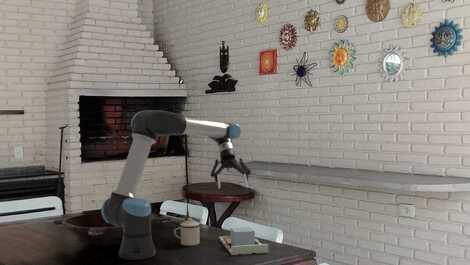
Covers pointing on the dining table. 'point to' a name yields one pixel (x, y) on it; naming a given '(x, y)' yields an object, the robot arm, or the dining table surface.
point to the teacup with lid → (189, 232)
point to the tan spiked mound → (187, 214)
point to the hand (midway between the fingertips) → (233, 186)
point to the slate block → (242, 236)
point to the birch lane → (230, 238)
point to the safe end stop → (249, 249)
